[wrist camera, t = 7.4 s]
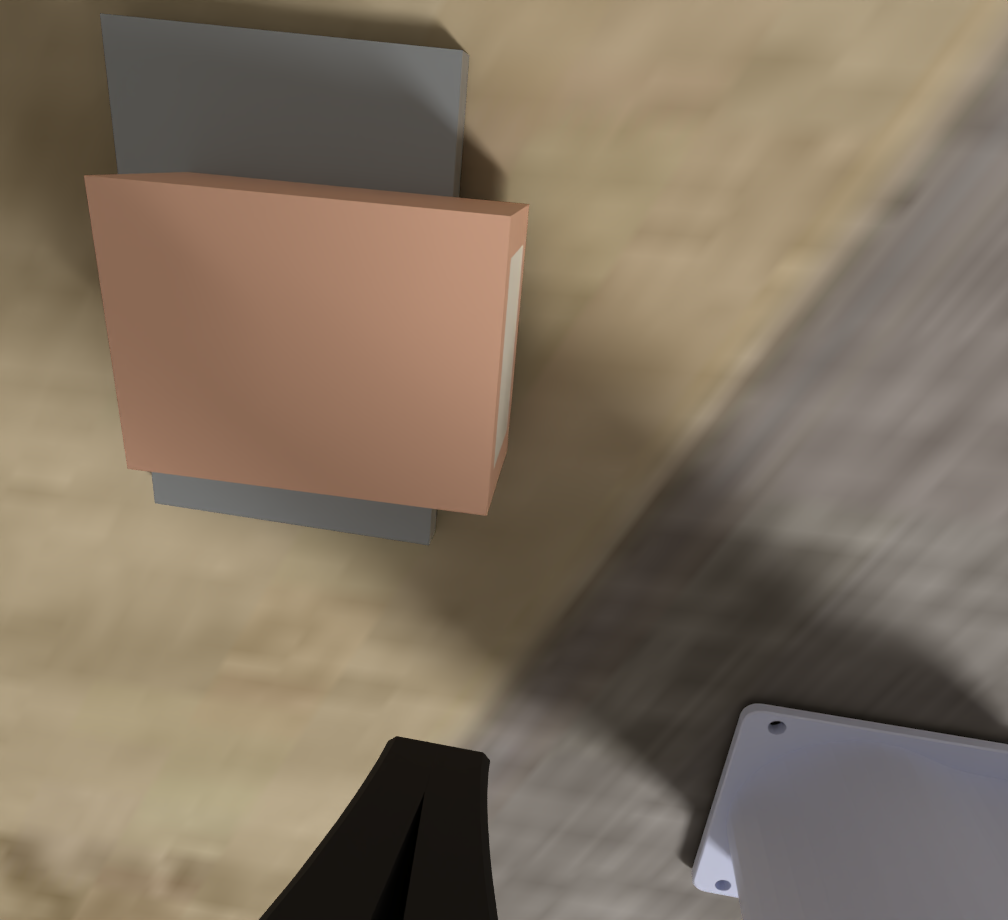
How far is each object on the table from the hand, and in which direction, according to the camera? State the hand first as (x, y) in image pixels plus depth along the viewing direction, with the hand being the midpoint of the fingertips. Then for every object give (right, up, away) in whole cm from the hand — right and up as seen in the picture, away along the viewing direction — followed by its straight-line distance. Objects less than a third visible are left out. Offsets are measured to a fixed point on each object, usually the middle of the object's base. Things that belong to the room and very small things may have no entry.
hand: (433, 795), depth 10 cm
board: (-4, +9, +8) cm, 13 cm away
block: (+1, +7, +5) cm, 9 cm away
